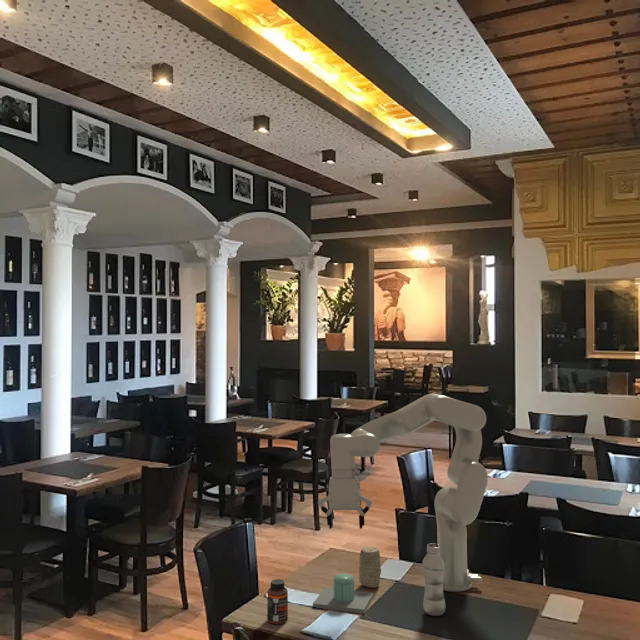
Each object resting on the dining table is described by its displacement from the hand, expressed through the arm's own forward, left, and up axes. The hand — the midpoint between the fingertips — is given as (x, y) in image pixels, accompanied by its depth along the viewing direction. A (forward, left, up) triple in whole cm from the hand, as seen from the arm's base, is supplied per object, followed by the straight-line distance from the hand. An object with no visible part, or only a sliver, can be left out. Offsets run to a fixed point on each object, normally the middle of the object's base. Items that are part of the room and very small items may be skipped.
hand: (346, 527), depth 202 cm
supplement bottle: (+15, +22, -22) cm, 35 cm away
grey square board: (0, +4, -22) cm, 22 cm away
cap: (0, +4, -20) cm, 21 cm away
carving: (-5, -11, -22) cm, 25 cm away
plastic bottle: (-28, +5, -22) cm, 36 cm away
